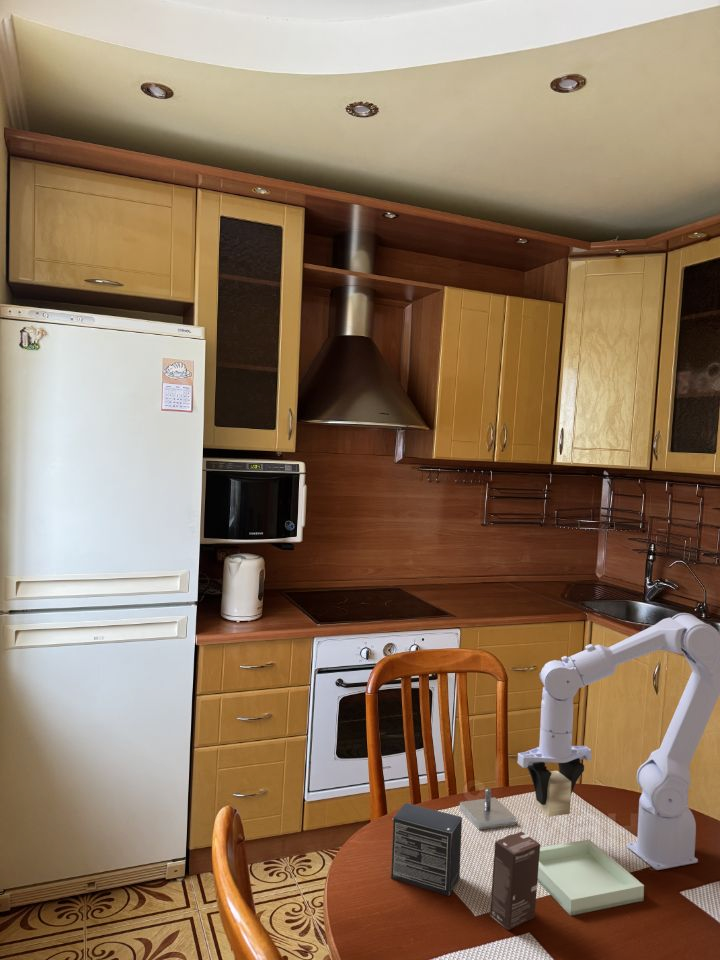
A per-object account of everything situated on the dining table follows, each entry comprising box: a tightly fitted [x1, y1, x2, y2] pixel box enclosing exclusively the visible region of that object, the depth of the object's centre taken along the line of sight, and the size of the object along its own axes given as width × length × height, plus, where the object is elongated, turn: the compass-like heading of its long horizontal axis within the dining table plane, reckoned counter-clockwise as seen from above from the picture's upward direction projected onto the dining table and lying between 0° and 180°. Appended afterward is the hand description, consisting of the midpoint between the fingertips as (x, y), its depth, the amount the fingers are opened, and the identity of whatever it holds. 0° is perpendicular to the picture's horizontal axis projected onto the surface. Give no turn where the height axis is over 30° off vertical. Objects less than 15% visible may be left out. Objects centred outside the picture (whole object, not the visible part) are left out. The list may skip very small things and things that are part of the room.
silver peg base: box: [459, 787, 517, 831], centre depth 136 cm, size 8×8×6 cm
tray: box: [537, 839, 645, 916], centre depth 116 cm, size 14×14×2 cm
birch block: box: [534, 770, 572, 818], centre depth 126 cm, size 4×4×6 cm
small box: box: [390, 802, 463, 897], centre depth 115 cm, size 11×6×10 cm, turn 65°
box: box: [489, 831, 541, 931], centre depth 106 cm, size 6×4×12 cm
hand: (552, 800), depth 126 cm, fingers closed on birch block, 4 cm apart
